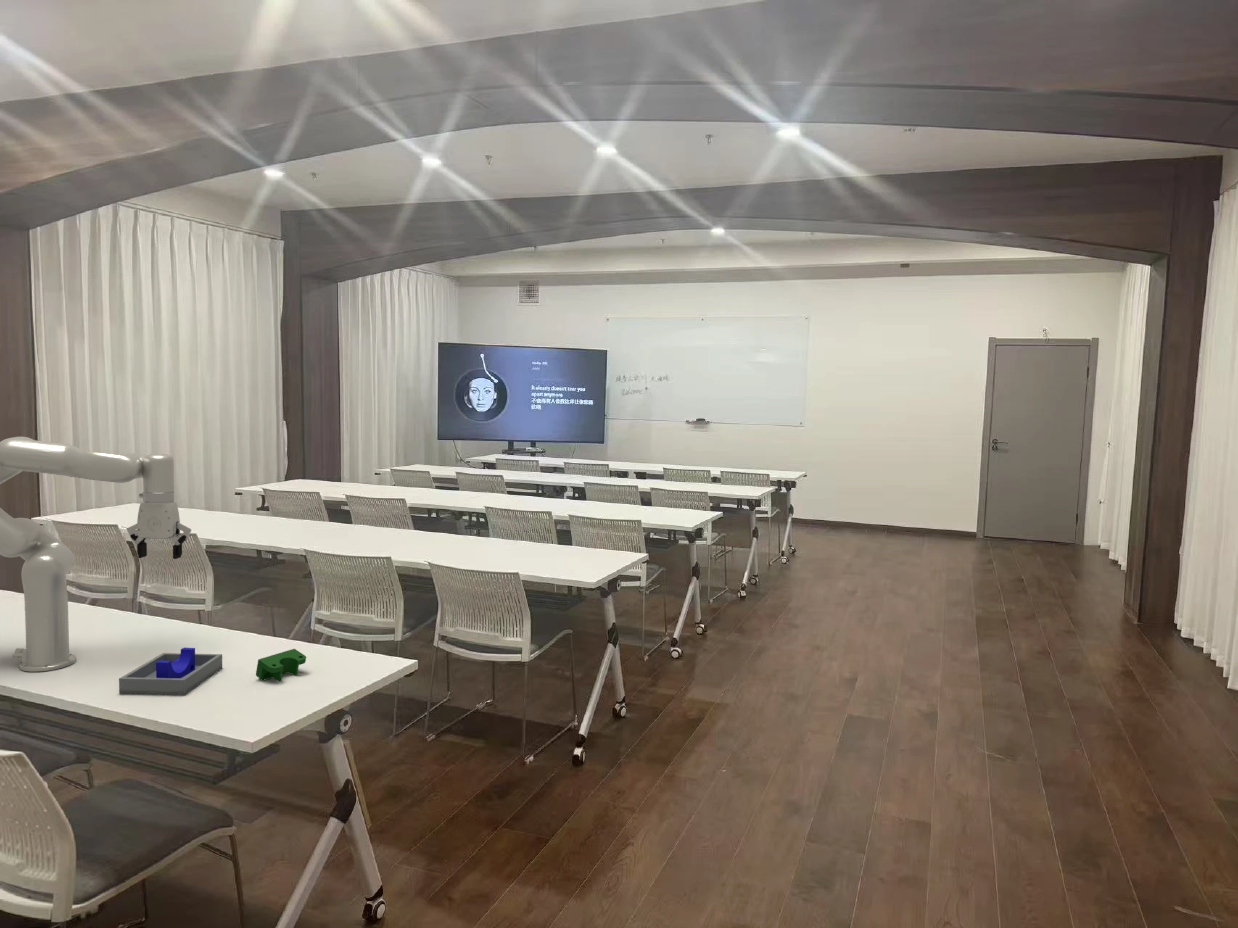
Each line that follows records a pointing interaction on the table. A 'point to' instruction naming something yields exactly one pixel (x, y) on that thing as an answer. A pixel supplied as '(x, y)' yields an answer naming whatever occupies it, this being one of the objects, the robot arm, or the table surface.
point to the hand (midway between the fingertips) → (159, 557)
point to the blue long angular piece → (177, 665)
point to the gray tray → (148, 684)
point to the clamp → (280, 664)
